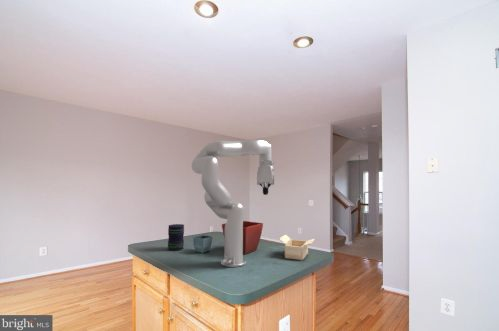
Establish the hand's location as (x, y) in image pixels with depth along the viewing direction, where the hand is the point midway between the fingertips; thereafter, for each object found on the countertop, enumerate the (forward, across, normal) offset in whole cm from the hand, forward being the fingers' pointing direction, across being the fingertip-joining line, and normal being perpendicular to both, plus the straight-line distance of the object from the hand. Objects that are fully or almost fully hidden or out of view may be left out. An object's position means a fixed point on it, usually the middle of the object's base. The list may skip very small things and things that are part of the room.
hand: (265, 194), depth 146 cm
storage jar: (+35, +57, +11) cm, 68 cm away
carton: (+35, -17, -6) cm, 39 cm away
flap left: (+26, -10, -6) cm, 29 cm away
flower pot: (+35, +38, +9) cm, 53 cm away
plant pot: (+35, +16, -2) cm, 39 cm away
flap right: (+27, -24, -6) cm, 37 cm away
